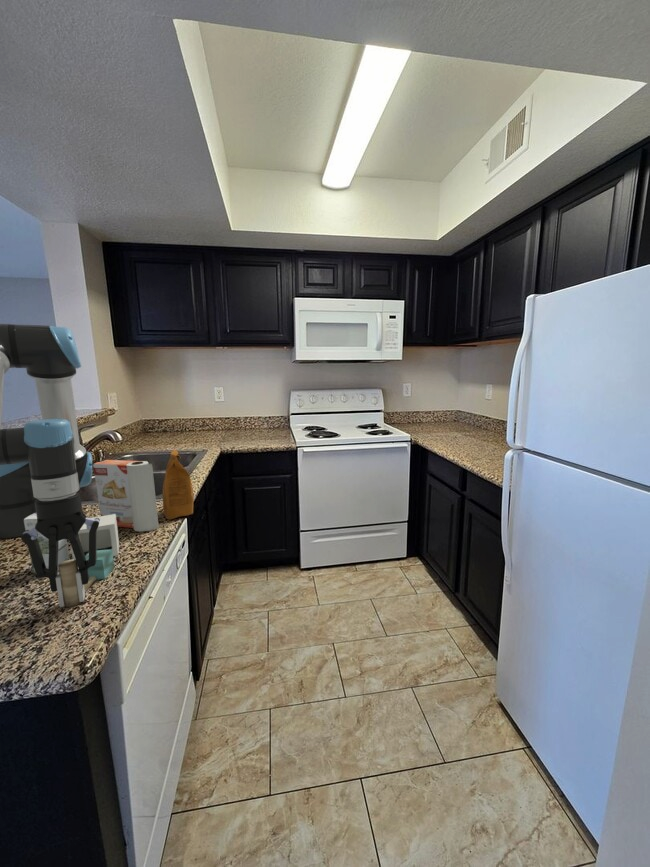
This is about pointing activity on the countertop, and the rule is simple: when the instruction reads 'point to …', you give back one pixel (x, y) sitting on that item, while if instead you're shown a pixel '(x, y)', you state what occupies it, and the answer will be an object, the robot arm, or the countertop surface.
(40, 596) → the countertop surface
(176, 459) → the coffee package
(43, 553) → the syrup box
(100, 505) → the cracker box
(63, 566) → the tethered block
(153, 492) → the paper towel roll
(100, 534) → the cubby
